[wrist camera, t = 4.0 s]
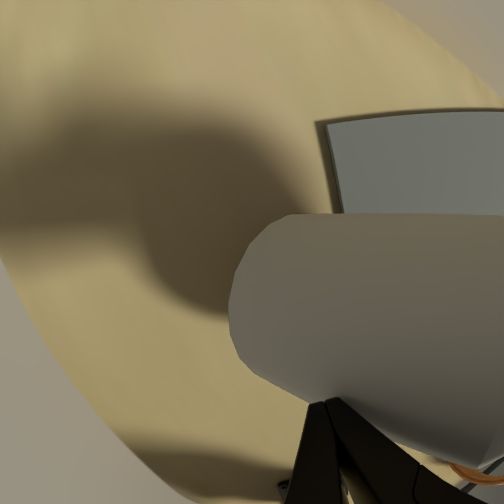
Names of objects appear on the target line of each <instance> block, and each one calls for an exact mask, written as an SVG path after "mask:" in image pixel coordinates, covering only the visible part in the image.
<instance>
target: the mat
mask: <svg viewBox="0 0 504 504" xmlns="http://www.w3.org/2000/svg"><path fill="white" fill-rule="evenodd" d="M324 127H325V131H326V135H327V140H328V145H329V149H330V154H331V159H332V164H333V169H334V174H335V179H336V184H337V189H338V195H339V201H340V207H341V212H342V214H346V213H416V214H466V215H495V216H504V112H444V113H426V114H412V115H400V116H389V117H380V118H371V119H363V120H355V121H348V122H341V123H334V124H327V125H324Z"/></svg>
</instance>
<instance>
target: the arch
mask: <svg viewBox="0 0 504 504" xmlns="http://www.w3.org/2000/svg"><path fill="white" fill-rule="evenodd" d="M448 464H449V465H450V467H451V468H452V470H453V471H454V472H456V473H457V474H458V475H459V476H460V477H461V478H463V479H465V480H467V481H469V482H472V483H476V484H480V485H502V484H504V475H503V476H498V477H494V476H489V475H486V474H484V473H481V472H479V471H478V470H475V469H471V468H468V467H465V466H461V465H458V464H455V463H452V462H448Z"/></svg>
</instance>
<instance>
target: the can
mask: <svg viewBox="0 0 504 504" xmlns="http://www.w3.org/2000/svg"><path fill="white" fill-rule="evenodd" d="M228 311H229V328H230V336H231V338H232V341H233V343H234V346H235V348H236V351H237V353H238V356H239V358H240V359H241V360H242V361H243V362H244V363H245V364H246V365H247V367H248V368H249V369H250V370H251V371H252V372H253V373H254V374H256V375H258V376H260V377H261V378H263V379H265V380H267V381H269V382H270V383H272V384H274V385H276V386H278V387H280V388H281V389H283V390H285V391H287V392H289V393H291V394H293V395H295V396H297V397H298V398H300V399H302V400H304V401H306V402H308V403H310V404H311V403H314V402H318V401H323V402H324V401H325V400H326V399H329V398H333V397H340V398H341V399H342V400H344V401H345V402H346V403H347V404H348V405H349V406H351V407H352V408H353V409H354V410H355V411H356V412H358V413H359V414H360V415H361V416H362V417H364V418H365V419H366V420H367V421H368V422H370V423H371V424H372V425H373V426H374V427H376V428H377V429H378V430H379V431H380V432H382V433H383V434H384V435H385V436H386V437H388V438H389V439H390V440H391V441H394V442H396V443H399V444H402V445H404V446H407V447H409V448H412V449H415V450H417V451H420V452H423V453H426V454H428V455H431V456H434V457H437V458H440V459H443V460H446V461H449V462H452V463H455V464H458V465H461V466H465V467H468V468H471V469H475V470H477V469H479V468H482V467H484V466H486V465H488V464H490V463H492V462H494V461H496V460H497V459H499V458H501V457H503V456H504V216H495V215H466V214H416V213H346V214H292V215H287V216H285V217H283V218H281V219H279V220H277V221H275V222H273V223H270V224H268V225H267V226H266V228H265V229H264V230H263V231H262V232H261V233H260V234H259V235H258V236H257V237H256V238H255V239H254V240H253V241H252V242H251V243H250V244H249V246H248V248H247V250H246V252H245V254H244V256H243V258H242V260H241V262H240V263H239V265H238V267H237V269H236V271H235V274H234V279H233V284H232V288H231V293H230V297H229V302H228Z"/></svg>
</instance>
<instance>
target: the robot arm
mask: <svg viewBox="0 0 504 504" xmlns="http://www.w3.org/2000/svg"><path fill="white" fill-rule="evenodd" d="M339 468H340V469H339ZM278 490H279V492H280V494H281V496H282V499H283V501H284V503H283V504H349V501H348V498H347V495H348V490H349V493H350V495H351V497H352V500H353V502H354V504H488V503H486V502H484V501H481V500H479V499H477V498H475V497H473V496H471V495H469V494H467V493H465V492H463V491H461V490H459V489H458V488H456V487H454V486H452V485H451V484H449V483H447V482H445V481H444V480H442V479H441V478H440V477H438V476H437V475H435V474H434V473H432V472H431V471H430V470H428V469H427V468H426V467H425V466H423V465H420V463H419V462H418V461H417V460H415V459H414V458H413V457H411V456H410V455H409V454H408V453H406V452H405V451H404V450H403V449H401V448H400V447H399V446H398V445H396V444H395V443H394V442H393V441H391V440H390V439H389V438H388V437H386V436H385V435H384V434H383V433H382V432H380V431H379V430H378V429H377V428H376V427H374V426H373V425H372V424H371V423H370V422H368V421H367V420H366V419H365V418H364V417H362V416H361V415H360V414H359V413H358V412H356V411H355V410H354V409H353V408H352V407H351V406H349V405H348V404H347V403H346V402H345V401H344V400H342V399H341V398H340V397H333V398H329V399H326V400H325V401H324V402H323V401H318V402H314V403H311V404H309V406H308V410H307V414H306V419H305V423H304V427H303V432H302V436H301V440H300V444H299V448H298V452H297V456H296V460H295V464H294V468H293V472H292V475H291V479H290V481H286V482H281V483H279V484H278Z"/></svg>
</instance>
